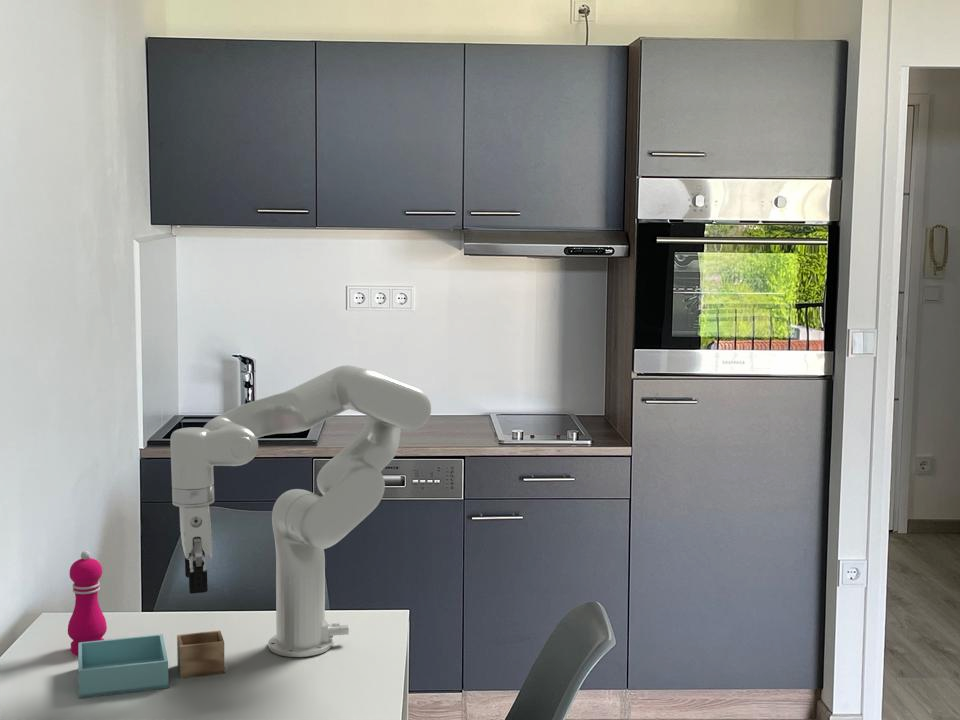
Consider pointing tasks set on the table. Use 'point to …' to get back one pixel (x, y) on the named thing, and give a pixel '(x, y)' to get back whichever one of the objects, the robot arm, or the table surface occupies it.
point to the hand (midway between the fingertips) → (196, 584)
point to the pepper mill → (86, 602)
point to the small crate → (200, 654)
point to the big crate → (122, 665)
